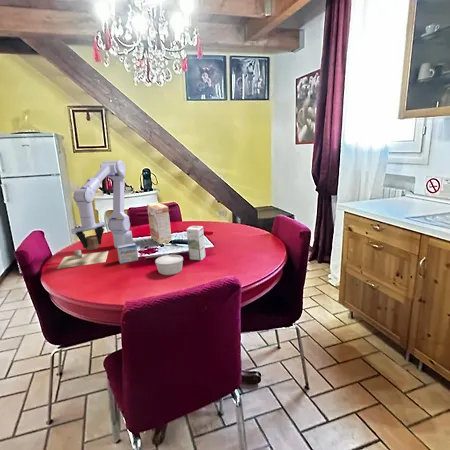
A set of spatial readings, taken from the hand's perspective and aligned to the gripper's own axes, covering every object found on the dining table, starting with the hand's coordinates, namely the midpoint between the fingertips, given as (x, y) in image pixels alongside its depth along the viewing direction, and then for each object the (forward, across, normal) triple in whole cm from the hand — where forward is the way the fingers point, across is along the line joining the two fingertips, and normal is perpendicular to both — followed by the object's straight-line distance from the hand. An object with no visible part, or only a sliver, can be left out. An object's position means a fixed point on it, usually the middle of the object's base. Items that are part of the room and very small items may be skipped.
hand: (92, 245), depth 150 cm
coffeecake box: (+9, -38, -5) cm, 40 cm away
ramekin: (+9, -18, +35) cm, 40 cm away
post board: (+8, +2, -6) cm, 11 cm away
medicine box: (+9, -10, +12) cm, 18 cm away
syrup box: (+9, -34, +32) cm, 47 cm away
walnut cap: (+1, 0, 0) cm, 1 cm away
